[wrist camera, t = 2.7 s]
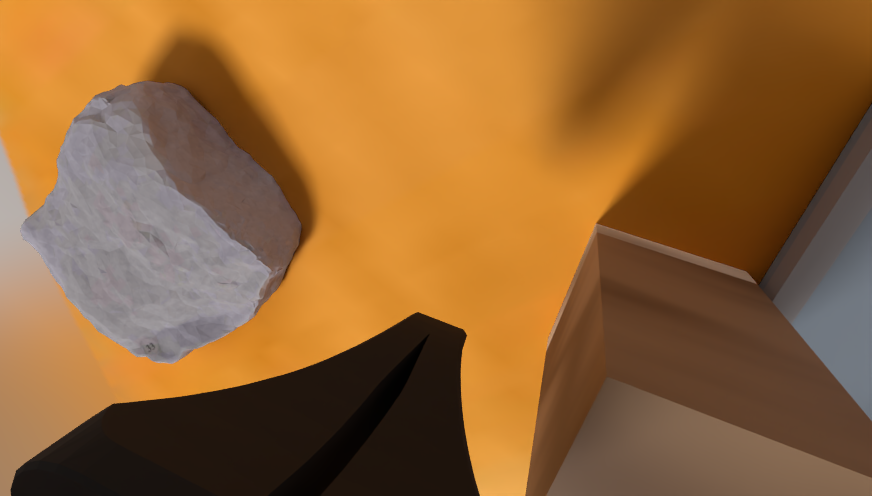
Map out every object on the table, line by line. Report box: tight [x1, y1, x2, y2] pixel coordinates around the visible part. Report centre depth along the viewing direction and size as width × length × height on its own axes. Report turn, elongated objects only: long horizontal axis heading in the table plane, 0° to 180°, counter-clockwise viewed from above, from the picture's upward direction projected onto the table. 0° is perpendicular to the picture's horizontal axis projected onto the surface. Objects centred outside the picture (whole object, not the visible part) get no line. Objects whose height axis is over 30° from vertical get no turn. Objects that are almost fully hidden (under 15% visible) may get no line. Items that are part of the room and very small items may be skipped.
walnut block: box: [525, 223, 872, 496], centre depth 12 cm, size 5×5×9 cm
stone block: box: [20, 81, 301, 364], centre depth 20 cm, size 12×5×10 cm
